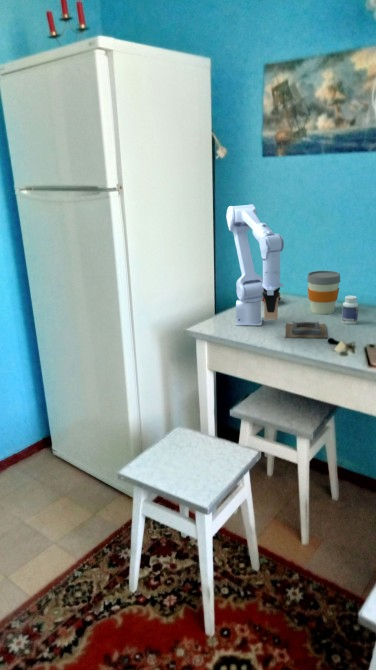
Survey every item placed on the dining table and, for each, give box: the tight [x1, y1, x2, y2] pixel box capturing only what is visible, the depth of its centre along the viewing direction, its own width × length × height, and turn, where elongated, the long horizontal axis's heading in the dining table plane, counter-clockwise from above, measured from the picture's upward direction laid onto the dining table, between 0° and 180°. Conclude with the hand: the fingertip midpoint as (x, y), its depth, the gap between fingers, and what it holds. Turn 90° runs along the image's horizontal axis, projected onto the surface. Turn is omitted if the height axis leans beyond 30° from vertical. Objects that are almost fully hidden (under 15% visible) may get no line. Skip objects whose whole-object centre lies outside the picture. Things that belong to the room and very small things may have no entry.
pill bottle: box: [341, 295, 359, 325], centre depth 177 cm, size 5×5×10 cm
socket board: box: [284, 321, 328, 340], centre depth 172 cm, size 14×14×2 cm
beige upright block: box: [263, 298, 279, 320], centre depth 167 cm, size 4×4×7 cm
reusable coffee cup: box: [306, 270, 341, 315], centre depth 191 cm, size 13×13×15 cm
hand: (271, 310), depth 167 cm, fingers closed on beige upright block, 4 cm apart
